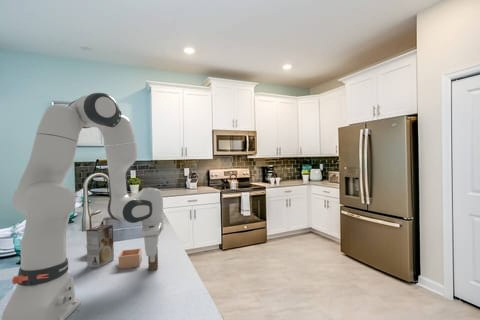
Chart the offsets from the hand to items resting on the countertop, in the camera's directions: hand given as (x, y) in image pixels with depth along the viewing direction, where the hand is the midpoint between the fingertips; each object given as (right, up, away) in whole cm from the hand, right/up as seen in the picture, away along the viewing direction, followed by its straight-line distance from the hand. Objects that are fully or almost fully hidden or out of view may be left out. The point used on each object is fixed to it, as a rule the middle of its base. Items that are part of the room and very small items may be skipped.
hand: (153, 259), depth 108 cm
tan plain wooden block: (0, -4, 0) cm, 4 cm away
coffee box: (-25, -5, +7) cm, 27 cm away
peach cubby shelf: (-12, -4, +5) cm, 13 cm away
